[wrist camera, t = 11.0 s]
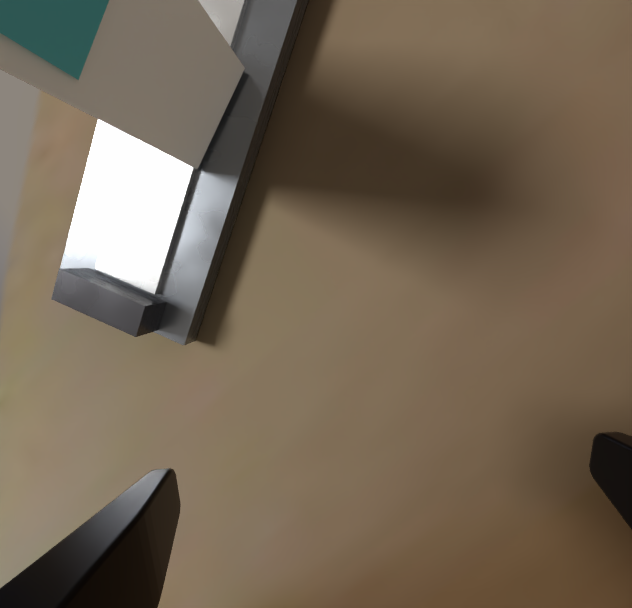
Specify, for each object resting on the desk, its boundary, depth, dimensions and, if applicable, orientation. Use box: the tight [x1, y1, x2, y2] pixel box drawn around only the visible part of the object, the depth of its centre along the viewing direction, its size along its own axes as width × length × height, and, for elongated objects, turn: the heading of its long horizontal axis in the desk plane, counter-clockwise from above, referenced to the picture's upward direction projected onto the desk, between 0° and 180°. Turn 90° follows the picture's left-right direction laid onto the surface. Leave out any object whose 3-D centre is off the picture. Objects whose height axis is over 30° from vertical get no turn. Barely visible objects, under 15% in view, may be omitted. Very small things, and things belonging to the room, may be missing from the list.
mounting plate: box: [52, 0, 309, 345], centre depth 17 cm, size 8×22×3 cm, turn 159°
